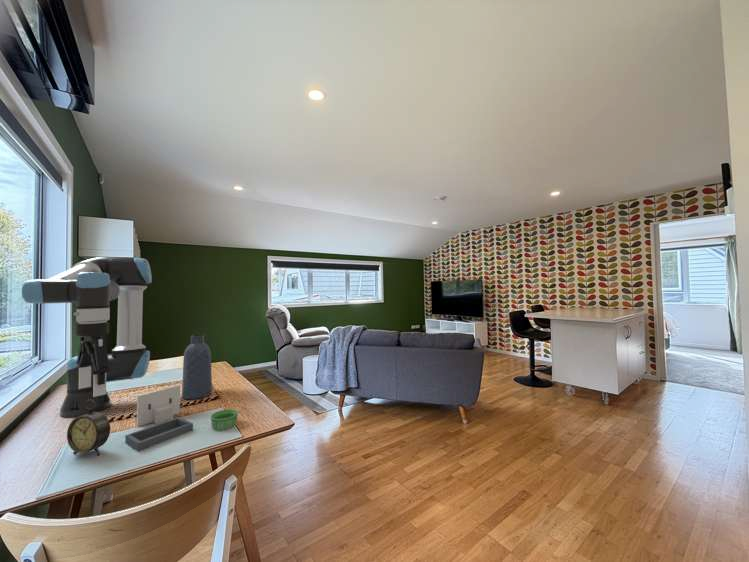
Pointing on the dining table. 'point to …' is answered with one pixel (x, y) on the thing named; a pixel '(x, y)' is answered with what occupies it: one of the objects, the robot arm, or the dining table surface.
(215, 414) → the ramekin
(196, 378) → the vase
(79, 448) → the alarm clock
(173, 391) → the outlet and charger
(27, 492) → the dining table surface
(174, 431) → the dock
